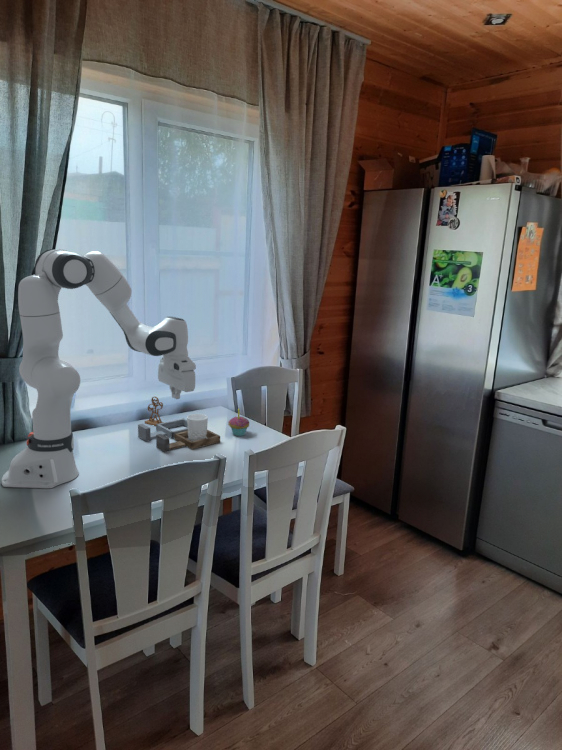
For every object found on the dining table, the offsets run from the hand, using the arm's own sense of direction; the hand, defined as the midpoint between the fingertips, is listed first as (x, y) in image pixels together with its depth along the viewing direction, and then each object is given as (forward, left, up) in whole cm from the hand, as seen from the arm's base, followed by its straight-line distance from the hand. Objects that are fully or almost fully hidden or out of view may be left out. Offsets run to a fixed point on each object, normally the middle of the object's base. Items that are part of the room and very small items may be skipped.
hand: (175, 398), depth 203 cm
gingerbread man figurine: (-8, +27, -19) cm, 34 cm away
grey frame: (-3, +14, -19) cm, 24 cm away
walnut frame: (+4, +2, -19) cm, 19 cm away
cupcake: (+25, +12, -19) cm, 34 cm away
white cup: (+8, +5, -19) cm, 21 cm away
